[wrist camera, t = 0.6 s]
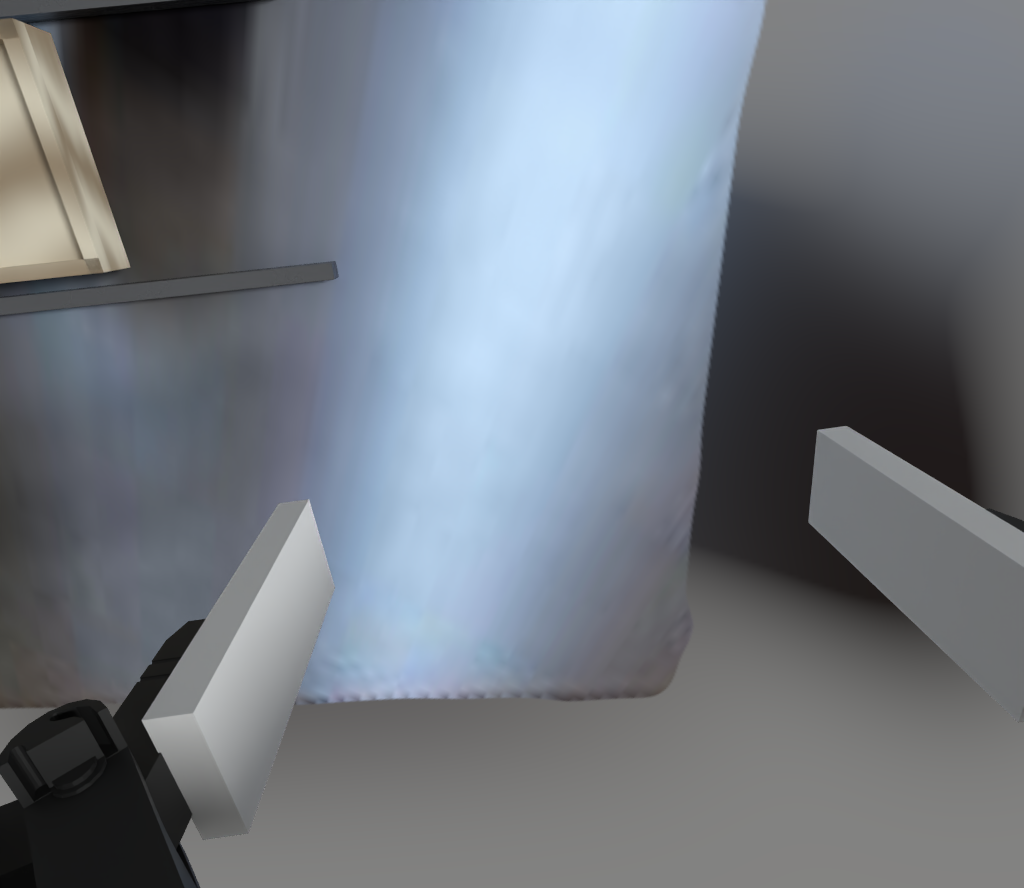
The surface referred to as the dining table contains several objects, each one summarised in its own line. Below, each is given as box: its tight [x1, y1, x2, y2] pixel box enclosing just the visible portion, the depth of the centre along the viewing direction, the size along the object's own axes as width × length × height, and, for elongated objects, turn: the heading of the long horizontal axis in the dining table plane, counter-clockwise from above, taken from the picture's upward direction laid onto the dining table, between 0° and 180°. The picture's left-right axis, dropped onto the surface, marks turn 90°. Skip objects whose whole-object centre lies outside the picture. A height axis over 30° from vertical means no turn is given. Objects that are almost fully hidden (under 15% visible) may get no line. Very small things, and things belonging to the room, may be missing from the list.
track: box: [0, 0, 339, 315], centre depth 34 cm, size 16×31×1 cm, turn 96°
